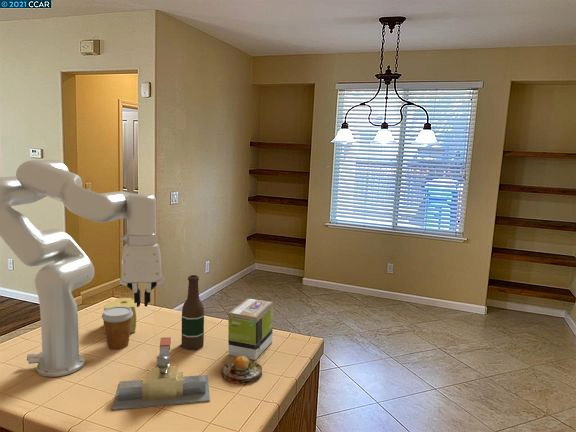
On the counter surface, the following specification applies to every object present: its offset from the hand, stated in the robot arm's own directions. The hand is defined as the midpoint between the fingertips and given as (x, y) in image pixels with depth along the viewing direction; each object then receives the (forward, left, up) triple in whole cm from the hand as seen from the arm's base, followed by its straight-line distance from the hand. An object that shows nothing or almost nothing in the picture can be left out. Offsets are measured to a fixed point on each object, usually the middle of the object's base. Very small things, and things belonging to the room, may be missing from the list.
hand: (142, 304), depth 119 cm
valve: (+6, -9, -22) cm, 25 cm away
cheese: (-11, +37, -22) cm, 45 cm away
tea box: (+33, +15, -22) cm, 43 cm away
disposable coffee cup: (-10, +23, -22) cm, 34 cm away
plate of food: (+28, -1, -23) cm, 36 cm away
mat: (+6, -7, -22) cm, 24 cm away
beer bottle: (+14, +20, -22) cm, 33 cm away
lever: (+6, -3, -14) cm, 15 cm away
